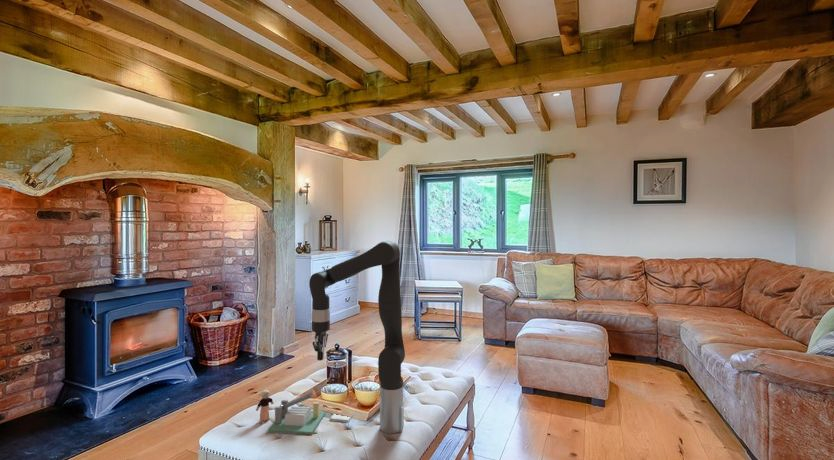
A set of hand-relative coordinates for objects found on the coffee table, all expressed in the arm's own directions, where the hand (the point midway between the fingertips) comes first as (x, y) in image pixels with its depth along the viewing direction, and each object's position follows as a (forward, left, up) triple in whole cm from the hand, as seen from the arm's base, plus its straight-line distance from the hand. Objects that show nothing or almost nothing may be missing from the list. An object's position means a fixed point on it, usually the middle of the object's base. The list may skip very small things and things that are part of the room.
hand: (320, 359), depth 163 cm
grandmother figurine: (+22, +4, -25) cm, 34 cm away
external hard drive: (-9, -4, -26) cm, 27 cm away
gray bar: (+8, +5, -17) cm, 19 cm away
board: (+8, +5, -25) cm, 26 cm away
